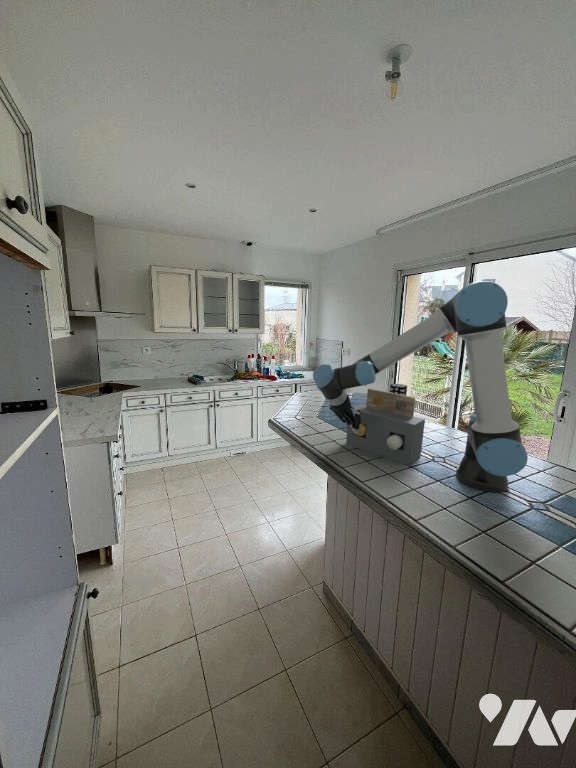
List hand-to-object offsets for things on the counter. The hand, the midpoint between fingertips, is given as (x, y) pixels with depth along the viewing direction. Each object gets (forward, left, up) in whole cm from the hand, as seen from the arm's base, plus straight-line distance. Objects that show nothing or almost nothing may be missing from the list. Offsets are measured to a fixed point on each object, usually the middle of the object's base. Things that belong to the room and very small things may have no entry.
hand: (357, 431), depth 129 cm
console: (-3, -10, -7) cm, 13 cm away
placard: (-2, -12, +9) cm, 15 cm away
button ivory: (-13, -9, -2) cm, 16 cm away
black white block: (+30, -35, -8) cm, 47 cm away
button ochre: (+1, -3, -2) cm, 4 cm away
